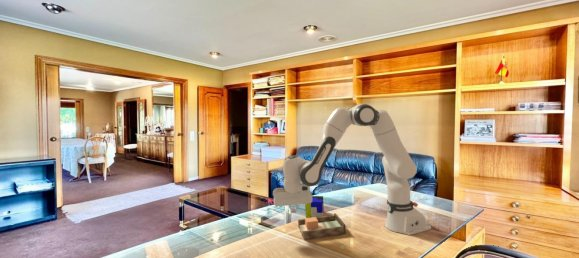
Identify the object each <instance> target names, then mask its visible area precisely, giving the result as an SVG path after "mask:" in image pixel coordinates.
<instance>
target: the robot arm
mask: <svg viewBox="0 0 579 258" xmlns="http://www.w3.org/2000/svg"><path fill="white" fill-rule="evenodd" d="M351 125H353V126H354V125H356V126H358V127H367V126H368V127H370V129H371V130H372V133H373V135H374V138H375V140H376V142H377V145H378V148H379V150H380V151H381V153H382V155H383V156H382V158H381V163H382V165H383V171H384V176H385V177H384V178H385V181H386V187H387V190H386V192H387V199H386V211H387V215H386V219H385V224H384V225H385V228H386V229H388V230H389V231H391V232H395V233H401V234H404V235H408V236H411V235H416V234H419V233H423V232H427V231H430V230H431V229H432V226H431V224H430V223H428V221H427V220H426V216H425V215H424V214H423V213H422V212H420V211H419V210H418V209H416V208H417V207H418V206H419V204H418V203H417V202H416V201H413V200H411V186H410V184H409V181H408V180H410V179H413V178H414V177H415V176H416V174H417V172H418V171H417V170H418V169H417V168H418V167H417V165H416V163H415V162H414V161H413V159H412V158H411V156H410V154H409V152H408V150H407V148H406V147H405V146H404V144H403V141H402V140H401V137H400V136H399V133H398V130H397V128H396V125H395V123H394V120H393V119H392V117H391V115H390V114H389V113H388V111H386V110H383V109H379V110H377V109H376V108H374V107H373V106H372V105H370V104H367V103H365V104H364V103H363V104H362V103H359V104H356V105H352V106H350V107H349V108H345V107H337V108H335V109H334V110H333V112H332V113H331V114H330V115H329V116H328V118H327V119H326V121H325V122H324V124H323V127H322V128H321V131H320V133H319V136H320V137H319V138H320V140H319V141H320V142H319V147H318V148H317V151H316V153H315V155H314V156H313V157H312V160H307V159H304V158H301V157H300V156H299V155H290V156H286V157H285V158H284V160H283V165H282V166H283V168H282V169H283V171H282V172H283V177H284V178H283V187H276V188H274V189H273V191H272V196H273V204H274V206H275V207H287V206H288V208H289V210H290V214H295V213H297V210H298V208H299V205H305V204H307V203H312V196H313V195H312V194H313V193H312V192H311V190H310V189H311V188H310V187H314V186H317V185H318V184H319V183H320V182H321V180H322V173H323V169H324V167H325V165H326V163H327V161H328V160H329V158H330V156H331V154H332V153H333V151H334V149H335V147H336V146H337V144H338V143H339V142H340V141H341V138H343V136H344V135H345V133H346V131H347V129H348V128H349V127H350V126H351ZM292 206H295V207H294V208H292Z"/></svg>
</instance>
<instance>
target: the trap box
mask: <svg viewBox="0 0 579 258" xmlns="http://www.w3.org/2000/svg"><path fill="white" fill-rule="evenodd" d="M316 218H317V220H318V228H316V229H309V230H307V228H306V226H305V218H299V219H297V223H298V224H297V225H298V229H299V231H300V233H301V236H302V239H303V240H312V239H313V240H314V239H319V238H328V237H334V236H342V235H347V234H346V233H347V232H346V224H345V222H344V221H343V220H342V219H341V217H340V216H339V215H338V214H337V213H333V214H332V215H325V216H324V215H323V217H316Z"/></svg>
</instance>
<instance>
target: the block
mask: <svg viewBox="0 0 579 258" xmlns="http://www.w3.org/2000/svg"><path fill="white" fill-rule="evenodd" d="M304 219H305V226H306V228H307V230H309V229H316V228H318V220H317V218H316V217H312V218H306V217H305V218H304Z"/></svg>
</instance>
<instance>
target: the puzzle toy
mask: <svg viewBox="0 0 579 258" xmlns="http://www.w3.org/2000/svg"><path fill="white" fill-rule="evenodd" d="M304 206H305V207H304V208H305V218H312V217H323V216H324V213H325V211H324V210H325V208H324V207H325V206H324V196H323V195H312V203H307V204H304Z"/></svg>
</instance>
